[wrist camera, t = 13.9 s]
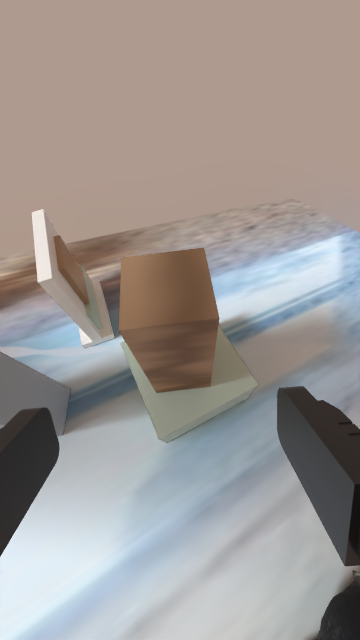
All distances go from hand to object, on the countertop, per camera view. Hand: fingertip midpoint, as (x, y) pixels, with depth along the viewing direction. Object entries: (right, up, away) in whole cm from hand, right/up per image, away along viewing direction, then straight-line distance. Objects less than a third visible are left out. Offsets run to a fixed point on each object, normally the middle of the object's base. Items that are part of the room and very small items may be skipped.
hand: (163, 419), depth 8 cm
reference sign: (-12, +4, +26) cm, 29 cm away
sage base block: (+1, -4, +20) cm, 21 cm away
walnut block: (+1, -1, +15) cm, 15 cm away
